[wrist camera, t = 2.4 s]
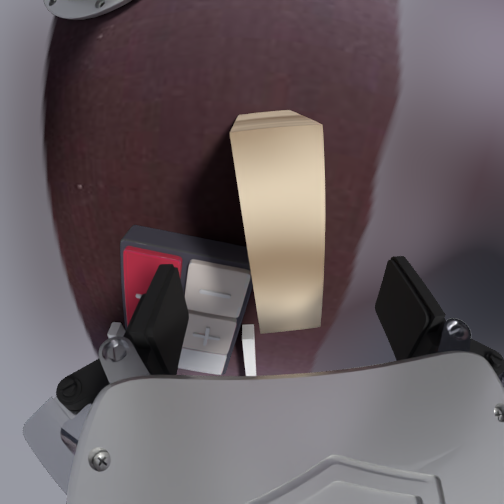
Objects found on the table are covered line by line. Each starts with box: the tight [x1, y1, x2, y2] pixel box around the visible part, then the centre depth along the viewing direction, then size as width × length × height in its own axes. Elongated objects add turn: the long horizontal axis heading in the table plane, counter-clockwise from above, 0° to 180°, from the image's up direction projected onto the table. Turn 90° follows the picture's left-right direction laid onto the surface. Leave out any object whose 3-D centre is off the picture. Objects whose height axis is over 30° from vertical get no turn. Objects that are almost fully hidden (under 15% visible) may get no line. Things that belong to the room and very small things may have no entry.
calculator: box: [120, 225, 253, 375], centre depth 25 cm, size 11×4×15 cm
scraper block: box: [230, 110, 325, 333], centre depth 16 cm, size 11×4×9 cm, turn 7°
